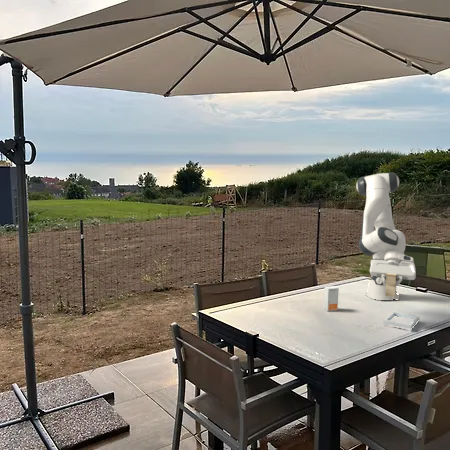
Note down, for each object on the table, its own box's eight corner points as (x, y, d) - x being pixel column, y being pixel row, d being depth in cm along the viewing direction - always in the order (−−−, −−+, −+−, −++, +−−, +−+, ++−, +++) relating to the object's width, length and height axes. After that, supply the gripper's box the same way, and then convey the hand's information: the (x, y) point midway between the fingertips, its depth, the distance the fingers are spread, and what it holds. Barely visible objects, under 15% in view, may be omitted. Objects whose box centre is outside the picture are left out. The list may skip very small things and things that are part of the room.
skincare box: (327, 311, 214) (328, 288, 213) (323, 309, 219) (324, 286, 217) (338, 310, 216) (338, 287, 215) (333, 308, 220) (334, 285, 219)
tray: (393, 317, 206) (393, 311, 206) (419, 322, 199) (419, 316, 199) (383, 325, 194) (383, 319, 193) (410, 331, 187) (411, 325, 186)
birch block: (386, 293, 197) (387, 273, 196) (395, 294, 195) (396, 273, 194) (385, 295, 194) (386, 274, 192) (394, 297, 192) (395, 275, 191)
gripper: (370, 254, 203) (366, 278, 196) (416, 258, 194) (414, 283, 187) (371, 261, 208) (367, 285, 200) (416, 266, 199) (414, 290, 191)
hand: (390, 284), depth 193 cm, fingers closed on birch block, 4 cm apart
